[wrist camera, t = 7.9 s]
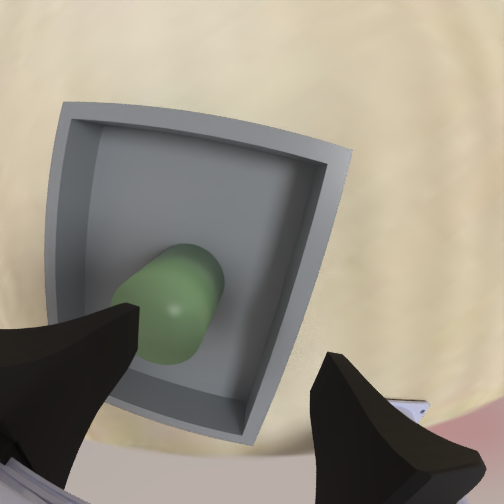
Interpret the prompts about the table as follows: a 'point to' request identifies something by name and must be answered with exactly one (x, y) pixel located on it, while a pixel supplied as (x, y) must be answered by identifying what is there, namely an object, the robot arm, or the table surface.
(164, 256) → the green rounded tapered piece
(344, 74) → the table surface
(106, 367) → the robot arm
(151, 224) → the bin
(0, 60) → the table surface
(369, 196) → the table surface
